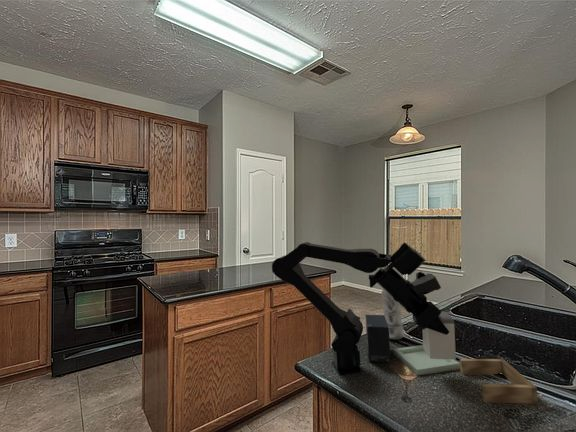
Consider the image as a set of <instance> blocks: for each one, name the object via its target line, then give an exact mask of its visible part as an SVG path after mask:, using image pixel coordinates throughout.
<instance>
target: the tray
mask: <svg viewBox="0 0 576 432" xmlns="http://www.w3.org/2000/svg"><path fill="white" fill-rule="evenodd" d="M392 352H393V355H394V356H395V357H396V358H397V359H398V360H399V361H401V362H402V363H403V364H404V365H405V366H406V367H408V369H410V371H411V372H412V373H414V374H415V375H416V376H423V375H429V374H437V373H441V372H449V371H455V370H461V369H460V362H458V361H457V360H455V359H430V358H429V356H428V355H427V353H426V351H425V350H424V348H423V344H420V345H412V346H406V347H400V348H399V347H397V348H393V349H392Z"/></svg>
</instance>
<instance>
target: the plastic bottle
mask: <svg viewBox="0 0 576 432" xmlns="http://www.w3.org/2000/svg"><path fill="white" fill-rule="evenodd" d="M380 297H381V302H382V306H383V314H384V315H385V318H386V321H387V324H388V327H389V340H394V341H396V340H401V339H402V338H403V337H404V335H405V329H404V325H403V321H402V316H401V315H402V314H401V310H402V309H401V308H402V307H401V306H402V305H401V304H400V303H399V302H396V301H395V300H394V299H393V297H392V296H391V295H390V294H389V293H388V292H387V291H385V290H384V289H383V288H382V291H381V296H380Z"/></svg>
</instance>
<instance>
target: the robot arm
mask: <svg viewBox="0 0 576 432" xmlns="http://www.w3.org/2000/svg"><path fill="white" fill-rule="evenodd" d="M306 258H311V259H315V260H322V261H328V262H332V263H337V264H338V263H339V264H344V265H346V266H349V267H351V268H353V269H355V270H357V271H360V272H362V273H366V274H368V280H369V288H373V287H375V286H376V284H378V286H380V287H381V288H382V290H383V289H384V290H385V291H387V292H388V293H389V294H390V295H391V296H392V297H393V299H394V300H395V301H396V302H399V303H400V304H401V306H402V307H403V308H404V309H405V311H406V312H407V313H408V314H410V313H411V314H412V320H413V321H414V323H415V324H416V325H417V327H419V329H421V331H422V330H423V329H425V328H428V329H431V330H434V331H437V332H440V333H442V334H445V335H447V334H448V333H449V331H448V329H447V328H446V327H445V325H444V324H443V323H442V321H441V320H440V319H439V317H438V316H439V315H440V314H441V311H442V310H441V309H440V308H439V307H438V306H437V305H435V304H434V303H433V302H432V301H428V298H427V296H426V295H428V294H429V293H432V292H434V291H439V290H441V289H442V286H441V284H440V283H439V281H438V279H437V277H436V276H435V275H434V274H433V273H426V274H425V273H424V272H422V271H418V272H416V273H415V278H414V281H412V282H411V281H409V280H408V279H406V278H404V277H403V276H404V275H405V276H406V275H408V276H411V275H412V274H413V273H414V272H415V271H416V270H417V269H419V267H421V266H422V265H423V264H424V263H425V262H426V261H427V260H426V259H425V257H424V256H423V255H422V254H421V253H420V252H419V251H417V250H416V248H415V249H414V248H413V247H412V246H410V245H409V244H408V243H407V242H403V243H402V244H401V245H400V246H399V247H398V248H397V249H396V251H395V252H394V253H392V254H385V253H379V251H377V250H376V249H374V248H354V249H352V248H351V249H347V248H342V247H341V248H340V247H334V246H329V245H322V244H316V243H311V242H308V241H305V242H302V243H300V244H299V245H297V247H295V248H294V249H292V251H290V252H288V253H286V254H285V255H282V256H280V257H278V258H275V259H274V260H273V261H272V263H271V270H272V271H271V272H272V273H273V274H274V275H275V276H276V277H277V278H278V279H280V280H281V281H283V282H284V283H287V284H288V285H291V286H294V288H296V290H297V291H298V292H299V293H301V295H302V296H304V298H305V299H306V300H308V302H309V303H311V305H313V306H314V308H315V309H316V310H317V311H318V312H320V313H321V314H322V315H323V316H324V318H326V320H328V322H329V323H330V325H331V327H332V329H333V332H334V333H335V337H334V338H333V341H332V342H331V343H330V344H331V348H332V351H333V361H332V365H333V367H334V369H335V370H336V372H337V373H338V375H345V374H352V373H361V372H362V368H361V367H360V366H361V352H360V350H359V349H358V347H359V346H358V345H357V344H358V343H359V342H360V340H361V338H362V335H363V330H364V326H363V322H362V321H361V317H360V316H358V315H356V314H355V313H354V312H353V310H352V309H351V308H348V310H347V311H346V310H343V309H342V308H340V307H339V306H338V305H336V303H335V302H333V301H332V300H331V298H329V297H328V296H327V295H326V293H324V292H323V291H322V290H321V289H320V288H319V287H318V286H317V285H316V284H315V283H314V282H313V281H312V280H311V279H310V278H308V276H307V275H306V274H305V273H304V271H303V268H302V266H301V264H300V263H302V261H303V260H304V259H306ZM375 271H376V272H375ZM374 272H375V273H374ZM372 273H374V274H372Z"/></svg>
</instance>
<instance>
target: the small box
mask: <svg viewBox="0 0 576 432" xmlns="http://www.w3.org/2000/svg"><path fill="white" fill-rule="evenodd" d="M364 316H365V333H366V350H367V351H366V352H367V359H368V362H374V363H391V347H390V346H391V345H390V339H389V327H388V324H387V321H386V318H385V315H383V314H382V315H381V314H364Z"/></svg>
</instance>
